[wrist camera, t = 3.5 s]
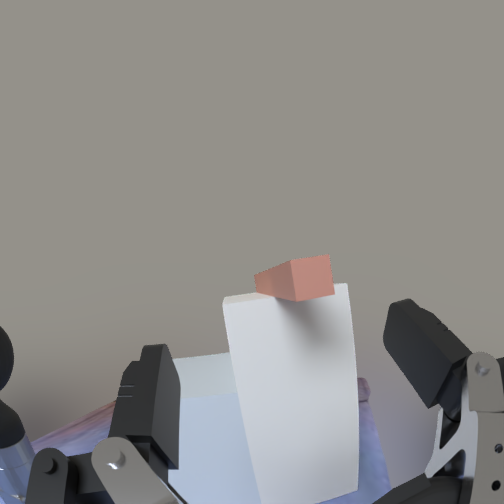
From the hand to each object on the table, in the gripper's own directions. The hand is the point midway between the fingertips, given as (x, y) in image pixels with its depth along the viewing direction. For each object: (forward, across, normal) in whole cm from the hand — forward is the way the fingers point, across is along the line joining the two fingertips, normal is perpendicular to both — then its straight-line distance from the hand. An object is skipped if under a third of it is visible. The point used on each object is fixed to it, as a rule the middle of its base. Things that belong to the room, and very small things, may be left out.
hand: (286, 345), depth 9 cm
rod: (+21, -4, +12) cm, 25 cm away
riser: (+11, +3, +42) cm, 44 cm away
